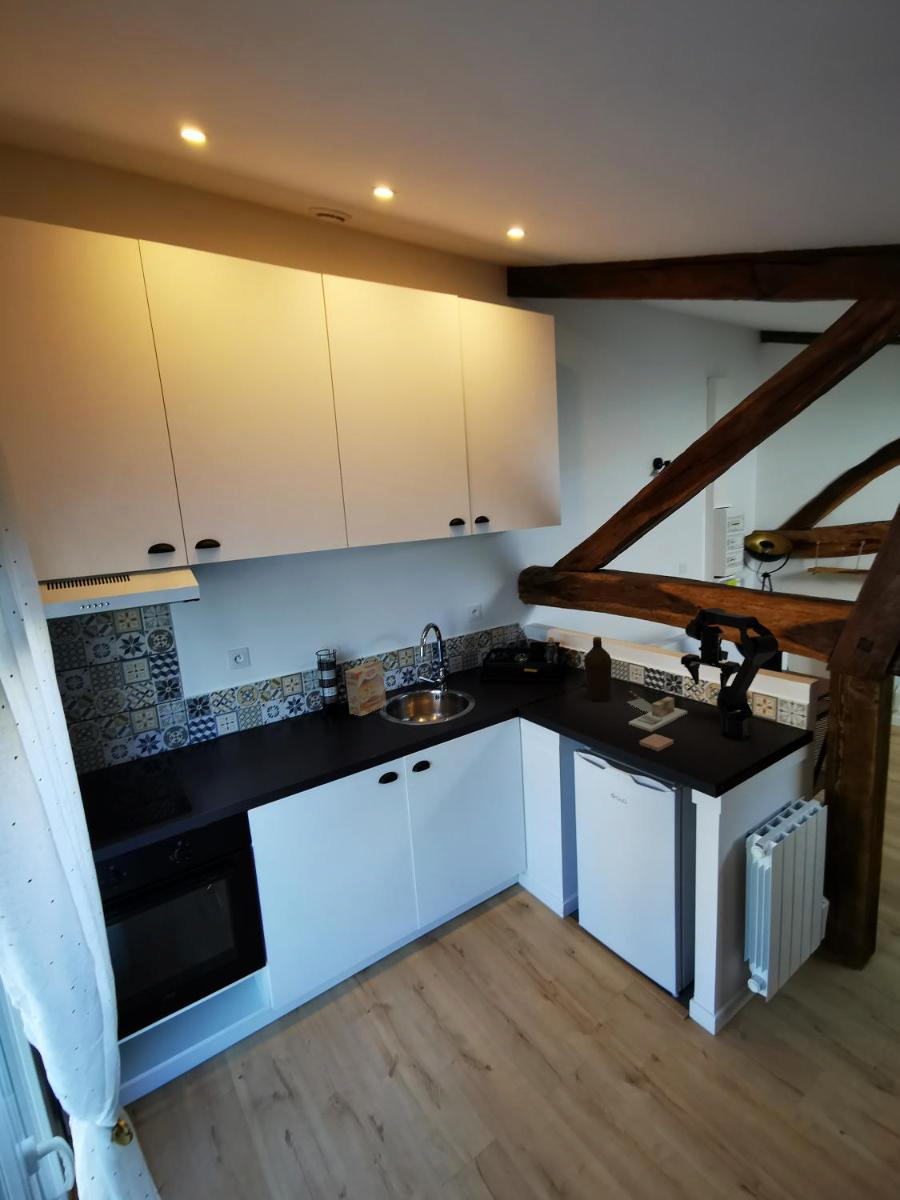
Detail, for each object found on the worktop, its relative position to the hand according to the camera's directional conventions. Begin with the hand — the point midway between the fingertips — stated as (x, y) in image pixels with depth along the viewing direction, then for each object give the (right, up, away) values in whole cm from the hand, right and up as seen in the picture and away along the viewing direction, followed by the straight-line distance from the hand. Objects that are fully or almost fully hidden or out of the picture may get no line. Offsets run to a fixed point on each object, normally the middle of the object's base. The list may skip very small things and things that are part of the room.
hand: (709, 687), depth 194 cm
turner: (-15, -11, +7) cm, 20 cm away
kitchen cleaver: (-17, -10, +22) cm, 30 cm away
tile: (-20, -15, -11) cm, 27 cm away
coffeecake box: (-124, -16, +36) cm, 130 cm away
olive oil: (-30, -9, +31) cm, 44 cm away
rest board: (-16, -12, +6) cm, 21 cm away
